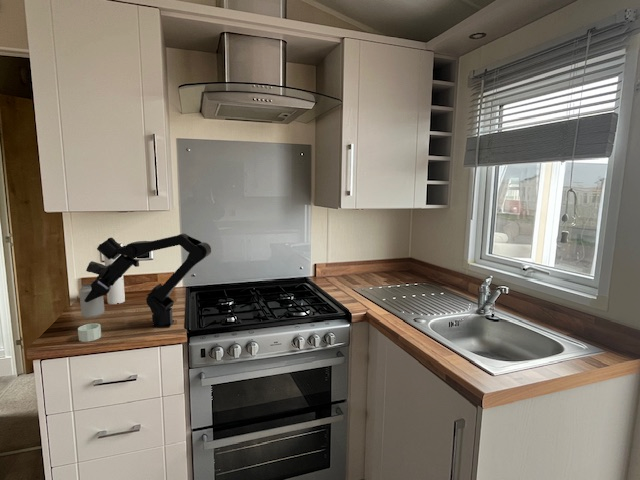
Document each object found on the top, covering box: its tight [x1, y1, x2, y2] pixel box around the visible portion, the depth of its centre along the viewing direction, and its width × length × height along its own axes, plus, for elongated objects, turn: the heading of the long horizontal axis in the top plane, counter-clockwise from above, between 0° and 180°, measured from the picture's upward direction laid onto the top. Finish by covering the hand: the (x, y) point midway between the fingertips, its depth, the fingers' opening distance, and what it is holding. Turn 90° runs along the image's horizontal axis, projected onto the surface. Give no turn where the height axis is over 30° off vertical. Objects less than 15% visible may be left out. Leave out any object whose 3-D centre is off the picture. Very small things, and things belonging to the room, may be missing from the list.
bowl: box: [77, 322, 102, 343], centre depth 130 cm, size 7×7×4 cm
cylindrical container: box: [103, 254, 126, 305], centre depth 169 cm, size 7×7×25 cm
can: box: [78, 282, 105, 319], centre depth 137 cm, size 8×8×12 cm
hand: (87, 298), depth 137 cm, fingers closed on can, 7 cm apart
